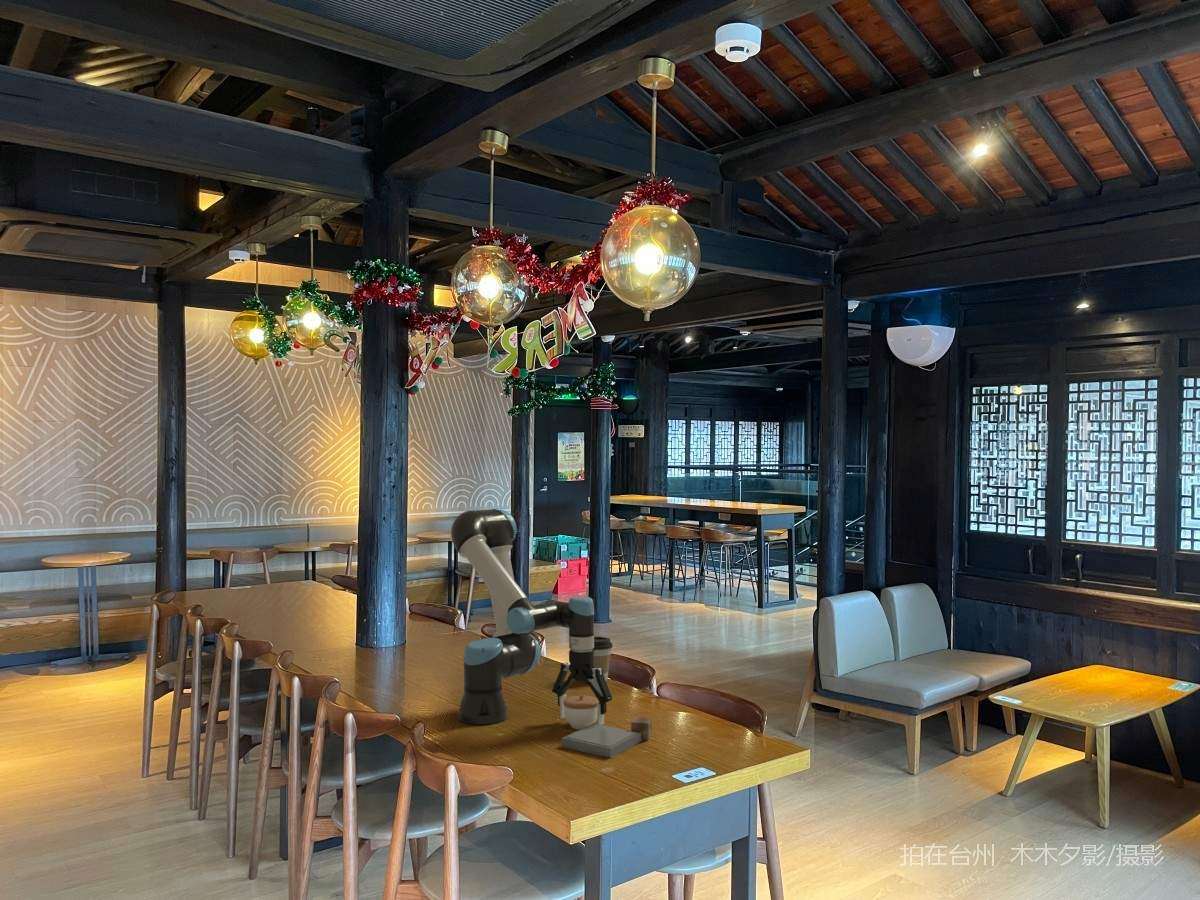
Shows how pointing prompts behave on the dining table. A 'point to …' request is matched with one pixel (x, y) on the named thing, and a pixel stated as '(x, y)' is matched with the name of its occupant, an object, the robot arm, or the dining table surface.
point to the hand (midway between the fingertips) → (581, 721)
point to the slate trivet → (601, 740)
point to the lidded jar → (580, 710)
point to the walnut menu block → (642, 727)
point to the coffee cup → (602, 654)
